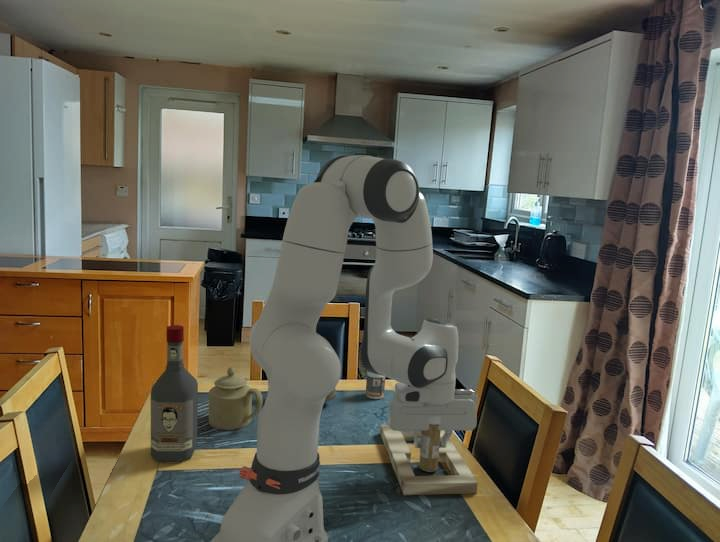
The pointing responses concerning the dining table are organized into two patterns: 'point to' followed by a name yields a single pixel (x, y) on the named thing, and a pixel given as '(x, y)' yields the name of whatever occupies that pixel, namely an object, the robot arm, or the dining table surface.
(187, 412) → the liquor
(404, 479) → the keyhole board
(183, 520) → the dining table surface
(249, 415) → the sugar bowl
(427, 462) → the sprinkles bottle
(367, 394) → the pill bottle
